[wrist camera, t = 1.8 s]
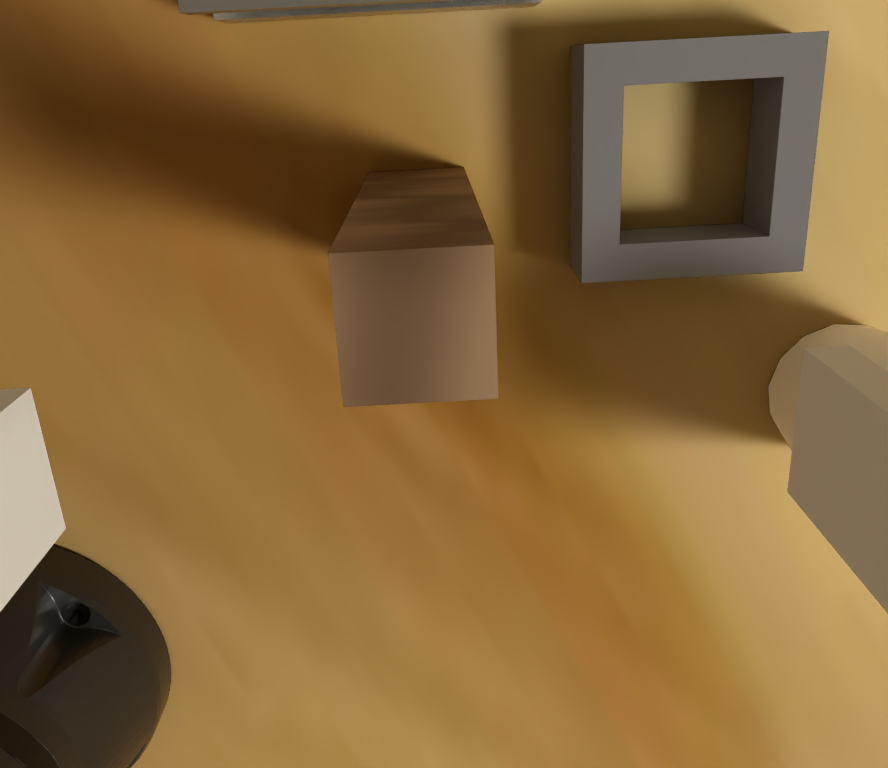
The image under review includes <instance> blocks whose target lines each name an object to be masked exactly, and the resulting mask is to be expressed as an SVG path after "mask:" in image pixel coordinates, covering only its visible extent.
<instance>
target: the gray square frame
mask: <svg viewBox="0 0 888 768" xmlns="http://www.w3.org/2000/svg"><path fill="white" fill-rule="evenodd" d="M828 36H829V31H818V32H800V33H781V34H763V35H744V36H726V37H707V38H689V39H670V40H652V41H633V42H615V43H597V44H582V45H574V46H571V123H570V267H571V269H572V270H573V272H574V273H575V274H576V276H577V277H578V279H579V280H580V281H581V283H596V282H614V281H633V280H651V279H669V278H688V277H706V276H725V275H743V274H761V273H780V272H798V271H803V265H804V256H805V247H806V238H807V228H808V219H809V210H810V201H811V192H812V183H813V173H814V164H815V155H816V146H817V137H818V127H819V118H820V109H821V100H822V91H823V82H824V72H825V63H826V54H827V45H828ZM750 78H754V87H753V100H752V112H751V125H750V137H749V150H748V162H747V175H746V187H745V199H744V212H743V223H734V224H716V225H697V226H679V227H660V228H642V229H624V230H620V211H621V174H622V136H623V99H624V85H640V84H658V83H676V82H695V81H713V80H732V79H750Z"/></svg>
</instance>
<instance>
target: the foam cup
mask: <svg viewBox="0 0 888 768" xmlns="http://www.w3.org/2000/svg"><path fill="white" fill-rule="evenodd" d="M848 345H849V346H851V347H852V348H854V349H855V350H857V351H858V352H860V353H861V354H863V355H864V356H866V357H867V358H868V359H870V360H871V361H873V362H874V363H876V364H877V365H879V366H880V367H882V368H883V369H885V370H886V371H888V332H885V331H882V330H879V329H876V328H873V327H867V326H865V325H838V324H833V325H831V326H828V327H826V328H823V329H821V330H818V331H816V332H814V333H811V334H809V335H806V336H804V337H802V338H801V339H800V340H799V341H798V342H797V343H796V344H795V345H794V346H793V347H792V348H791V349H790V350H789V351H788V352H787V353H786V354H785V355H784V356H783V357H782V358H781V359H780V360H779V363H778V365H777V367H776V370H775V372H774V374H773V377H772V379H771V381H770V384H769V386H768V390H769V407H770V415H771V416H772V418H773V420H774V422H775V424H776V425H777V427H778V429H779V430H780V432H781V434H782V436H783V437H784V439H785V441H786V442H787V444H788V446H789V447H790V449H791V451H792V447H793V438H794V430H795V421H796V412H797V404H798V395H799V386H800V377H801V369H802V360H803V351H804V348H809V347H828V346H848Z"/></svg>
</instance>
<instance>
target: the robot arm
mask: <svg viewBox="0 0 888 768" xmlns="http://www.w3.org/2000/svg"><path fill="white" fill-rule="evenodd" d="M787 492H788V493H789V494H790V495H791V497H792V498H793V499H794V500H795V502H796V503H797V504H798V505H799V506H800V508H801V509H802V510H803V511H804V512H805V514H806V515H807V516H808V517H809V519H810V520H811V521H812V522H813V523H814V525H815V526H816V527H817V528H818V529H819V531H820V532H821V533H822V534H823V536H824V537H825V538H826V539H827V540H828V542H829V543H830V544H831V545H832V546H833V548H834V549H835V550H836V551H837V552H838V554H839V555H840V556H841V557H842V559H843V560H844V561H845V562H846V563H847V565H848V566H849V567H850V568H851V569H852V571H853V572H854V573H855V574H856V576H857V577H858V578H859V579H860V580H861V582H862V583H863V584H864V585H865V586H866V588H867V589H868V590H869V591H870V592H871V594H872V595H873V596H874V597H875V599H876V600H877V601H878V602H879V603H880V605H881V606H882V607H883V608H884V609H885V611H886V612H887V613H888V371H886V370H885V369H883V368H882V367H880V366H879V365H877V364H876V363H874V362H873V361H871V360H870V359H868V358H867V357H866V356H864V355H863V354H861V353H860V352H858V351H857V350H855V349H854V348H852V347H851V346H849V345H848V346H828V347H809V348H804V351H803V360H802V369H801V377H800V386H799V395H798V404H797V412H796V421H795V430H794V438H793V447H792V456H791V465H790V473H789V482H788V491H787ZM65 529H66V527H65V523H64V519H63V515H62V511H61V507H60V503H59V499H58V495H57V491H56V487H55V483H54V479H53V475H52V471H51V467H50V463H49V459H48V455H47V451H46V447H45V443H44V439H43V435H42V431H41V428H40V424H39V420H38V416H37V412H36V408H35V404H34V400H33V396H32V392H31V388H20V389H0V768H131V767H132V766H133V765H134V764H135V763H136V761H137V760H138V759H139V758H140V756H141V755H142V753H143V752H144V751H145V749H146V747H147V746H148V744H149V742H150V741H151V739H152V737H153V734H154V732H155V730H156V727H157V725H158V722H159V720H160V718H161V715H162V713H163V710H164V708H165V705H166V702H167V699H168V696H169V691H170V684H171V664H170V658H169V653H168V649H167V645H166V643H165V640H164V637H163V635H162V632H161V630H160V628H159V626H158V624H157V623H156V621H155V619H154V618H153V616H152V615H151V613H150V612H149V610H148V609H147V608H146V606H145V605H144V604H143V602H142V601H141V600H140V599H139V598H138V597H137V596H136V595H135V594H134V593H133V592H132V591H131V590H130V589H129V588H128V587H127V586H126V585H125V584H124V583H122V582H121V581H120V580H119V579H117V578H116V577H115V576H113V575H112V574H111V573H109V572H108V571H106V570H105V569H103V568H102V567H100V566H98V565H97V564H95V563H93V562H91V561H89V560H87V559H85V558H83V557H81V556H79V555H77V554H74V553H72V552H69V551H67V550H64V549H61V548H58V547H55V546H52V545H53V544H54V543H55V542H56V540H57V539H58V538H59V537H60V535H61V534H62V533H63V531H64V530H65Z"/></svg>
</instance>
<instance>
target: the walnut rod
mask: <svg viewBox="0 0 888 768" xmlns="http://www.w3.org/2000/svg"><path fill="white" fill-rule="evenodd" d="M328 260H329V270H330V280H331V290H332V299H333V309H334V319H335V329H336V339H337V349H338V359H339V369H340V378H341V388H342V398H343V407H353V406H371V405H389V404H408V403H426V402H444V401H463V400H481V399H498V365H497V329H496V293H495V256H494V243H493V240H492V238H491V235H490V233H489V230H488V228H487V225H486V223H485V220H484V217H483V215H482V212H481V210H480V207H479V205H478V202H477V200H476V197H475V195H474V192H473V189H472V187H471V184H470V182H469V179H468V177H467V174H466V172H465V169H464V167H455V168H436V169H418V170H399V171H380V172H369V173H368V175H367V177H366V179H365V181H364V183H363V185H362V187H361V189H360V191H359V193H358V195H357V197H356V199H355V201H354V203H353V204H352V206H351V208H350V210H349V212H348V214H347V216H346V218H345V220H344V222H343V224H342V226H341V228H340V230H339V232H338V234H337V236H336V238H335V240H334V242H333V244H332V246H331V248H330V250H329V252H328Z"/></svg>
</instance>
